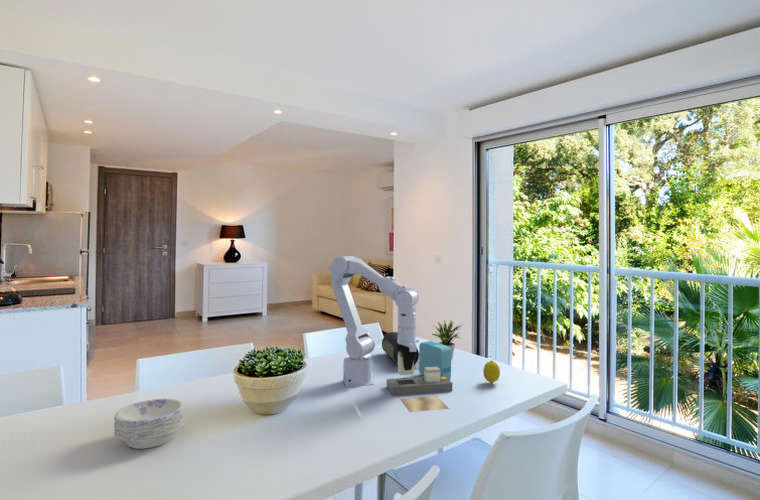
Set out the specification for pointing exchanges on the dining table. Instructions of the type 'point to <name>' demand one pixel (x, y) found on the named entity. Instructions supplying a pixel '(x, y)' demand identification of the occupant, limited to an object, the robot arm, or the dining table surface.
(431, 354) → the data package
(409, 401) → the cork mat
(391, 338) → the portable speaker
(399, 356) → the plug
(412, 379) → the power strip
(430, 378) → the twin plug
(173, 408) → the paper bowls
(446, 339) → the house plant
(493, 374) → the lemon
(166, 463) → the dining table surface
